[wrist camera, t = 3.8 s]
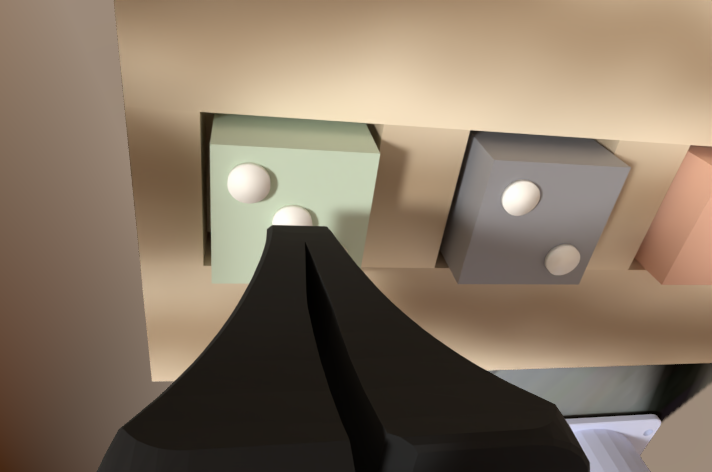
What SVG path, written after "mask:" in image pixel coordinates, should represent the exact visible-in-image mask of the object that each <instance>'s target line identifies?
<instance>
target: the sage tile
mask: <svg viewBox="0 0 712 472" xmlns="http://www.w3.org/2000/svg"><path fill="white" fill-rule="evenodd" d="M379 159H380V152H379V150H378V148H377V146H376V144H375V142H374V139H373V137H372V135H371V133H370V131H369V129H368V127H367V125H366V123H358V122H343V121H328V120H313V119H299V118H284V117H269V116H254V115H240V114H225V113H214V119H213V126H212V133H211V139H210V196H211V270H212V284H249V283H250V281H251V279H252V277H253V275H254V272H255V270H256V268H257V265H258V263H259V261H260V258H261V256H262V253H263V250H264V246H265V243H266V234H267V229H268V228H269V227H270V226H272V225H294V226H327V227H328V228H329V229H330V230H331V231H332V233H333V234H334V235H335V237H336V238H337V240H338V241H339V242H340V243H341V245H342V246H343V247H344V249H345V250H346V251H347V253H348V254H349V255H350V256H351V258H352V259H353V260H354V261H355V263H356V264H357V265H358V266H359V267H360V268H361V264H362V259H363V253H364V247H365V241H366V235H367V229H368V223H369V217H370V212H371V206H372V200H373V194H374V188H375V182H376V176H377V170H378V165H379Z"/></svg>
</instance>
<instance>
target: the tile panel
mask: <svg viewBox="0 0 712 472" xmlns="http://www.w3.org/2000/svg"><path fill="white" fill-rule="evenodd" d="M114 6H115V17H116V27H117V37H118V47H119V57H120V67H121V77H122V87H123V97H124V105H125V106H124V107H125V116H126V127H127V137H128V146H129V156H130V166H131V176H132V186H133V196H134V206H135V216H136V226H137V236H138V246H139V256H140V266H141V275H142V286H143V296H144V306H145V315H146V325H147V335H148V345H149V355H150V365H151V375H152V381H175V380H176V379H177V378H178V377H179V376H180V375H181V374H182V373H183V372H184V371H185V370H186V369H187V368H188V367H189V366H190V365H191V364H192V363H193V362H194V361H195V360H196V359H197V358H198V356H199V355H200V354H201V353H202V352H203V351H204V350H205V348H206V347H207V346H208V345H209V343H210V342H211V341H212V340H213V338H214V337H215V336H216V335H217V333H218V332H219V331H220V329H221V328H222V327H223V325H224V324H225V322H226V321H227V320H228V318H229V317H230V315H231V314H232V312H233V311H234V309H235V307H236V306H237V304H238V303H239V301H240V299H241V297H242V295H243V294H244V292H245V290H246V288H247V286H248V285H249V284H212V270H211V196H210V139H211V133H212V126H213V119H214V113H225V114H240V115H254V116H269V117H284V118H299V119H313V120H328V121H343V122H358V123H366V125H367V127H368V129H369V131H370V133H371V135H372V137H373V139H374V142H375V144H376V146H377V148H378V150H379V152H380V159H379V165H378V170H377V176H376V182H375V188H374V194H373V200H372V206H371V212H370V217H369V223H368V229H367V235H366V241H365V247H364V253H363V259H362V264H361V270H362V271H363V272H364V273H365V274H366V275H367V276H368V278H369V279H370V280H371V281H372V282H373V283H374V284H375V285H376V286H377V288H378V289H379V290H380V291H381V292H382V293H383V294H384V295H385V296H386V297H387V298H388V299H389V300H390V301H391V302H392V303H393V304H394V305H396V306H397V307H398V308H399V309H400V310H401V311H402V312H403V313H405V314H406V315H407V316H408V317H409V318H411V319H412V320H413V321H414V322H416V323H417V324H418V325H419V326H420V327H422V328H423V329H424V330H425V331H427V332H428V333H429V334H431V335H432V336H433V337H435V338H436V339H438V340H439V341H441V342H442V343H444V344H445V345H446V346H448V347H449V348H451V349H452V350H454V351H455V352H457V353H458V354H460V355H461V356H463V357H465V358H466V359H468V360H469V361H471V362H473V363H474V364H476V365H478V366H479V367H481V368H483V369H485V370H512V369H541V368H571V367H601V366H631V365H660V364H690V363H712V285H661V284H660V283H659V282H658V281H657V280H656V279H655V278H654V277H653V276H652V275H651V274H650V273H649V272H648V271H647V270H646V269H645V268H644V267H643V266H642V265H641V264H640V263H639V262H638V261H637V260H636V259H635V258H634V257H635V255H636V253H637V251H638V249H639V247H640V245H641V243H642V241H643V239H644V237H645V235H646V233H647V231H648V229H649V227H650V225H651V223H652V221H653V219H654V217H655V215H656V213H657V211H658V209H659V207H660V205H661V203H662V201H663V199H664V197H665V195H666V193H667V191H668V189H669V187H670V185H671V183H672V181H673V179H674V177H675V175H676V173H677V171H678V169H679V167H680V165H681V163H682V161H683V159H684V157H685V155H686V153H687V151H688V149H689V147H690V145H697V146H711V147H712V0H114ZM470 130H475V131H490V132H505V133H520V134H534V135H549V136H564V137H579V138H592V139H593V140H595V141H596V142H597V143H599V144H600V145H601V146H603V147H604V148H605V149H607V150H608V151H609V152H611V153H612V154H613V155H615V156H616V157H617V158H619V159H620V160H621V161H623V162H624V163H625V164H627V165H628V166H629V167H631V169H630V171H629V173H628V176H627V178H626V180H625V182H624V185H623V187H622V189H621V191H620V194H619V196H618V198H617V200H616V202H615V205H614V207H613V209H612V211H611V214H610V216H609V218H608V220H607V223H606V225H605V227H604V229H603V232H602V234H601V236H600V238H599V241H598V243H597V245H596V247H595V249H594V252H593V254H592V256H591V258H590V261H589V263H588V265H587V267H586V270H585V272H584V274H583V276H582V279H581V281H580V283H579V285H556V284H457V282H456V280H455V278H454V276H453V274H452V272H451V270H450V268H449V266H448V264H447V262H446V261H445V259H444V257H443V255H442V253H441V251H440V249H439V248H440V245H441V241H442V237H443V233H444V229H445V225H446V221H447V218H448V214H449V210H450V206H451V202H452V198H453V195H454V191H455V187H456V183H457V179H458V175H459V172H460V168H461V164H462V160H463V156H464V152H465V149H466V145H467V141H468V137H469V133H470Z"/></svg>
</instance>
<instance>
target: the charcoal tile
mask: <svg viewBox="0 0 712 472" xmlns="http://www.w3.org/2000/svg"><path fill="white" fill-rule="evenodd" d="M630 169H631V167H629V166H628V165H627V164H625V163H624V162H623V161H621V160H620V159H619V158H617V157H616V156H615V155H613V154H612V153H611V152H609V151H608V150H607V149H605V148H604V147H603V146H601V145H600V144H599V143H597V142H596V141H595V140H593V139H592V138H579V137H564V136H549V135H534V134H520V133H505V132H490V131H475V130H470V133H469V137H468V141H467V145H466V149H465V152H464V156H463V160H462V164H461V168H460V172H459V175H458V179H457V183H456V187H455V191H454V195H453V198H452V202H451V206H450V210H449V214H448V218H447V221H446V225H445V229H444V233H443V237H442V241H441V245H440V248H439V249H440V251H441V253H442V255H443V257H444V259H445V261H446V262H447V264H448V266H449V268H450V270H451V272H452V274H453V276H454V278H455V280H456V282H457V284H556V285H579V283H580V281H581V279H582V276H583V274H584V272H585V270H586V267H587V265H588V263H589V261H590V258H591V256H592V254H593V252H594V249H595V247H596V245H597V243H598V241H599V238H600V236H601V234H602V232H603V229H604V227H605V225H606V223H607V220H608V218H609V216H610V214H611V211H612V209H613V207H614V205H615V202H616V200H617V198H618V196H619V194H620V191H621V189H622V187H623V185H624V182H625V180H626V178H627V176H628V173H629V171H630Z"/></svg>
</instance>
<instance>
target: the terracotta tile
mask: <svg viewBox="0 0 712 472" xmlns="http://www.w3.org/2000/svg"><path fill="white" fill-rule="evenodd" d="M634 258H635V259H636V260H637V261H638V262H639V263H640V264H641V265H642V266H643V267H644V268H645V269H646V270H647V271H648V272H649V273H650V274H651V275H652V276H653V277H654V278H655V279H656V280H657V281H658V282H659V283H660V284H661V285H712V147H711V146H697V145H690V147H689V149H688V151H687V153H686V155H685V157H684V159H683V161H682V163H681V165H680V167H679V169H678V171H677V173H676V175H675V177H674V179H673V181H672V183H671V185H670V187H669V189H668V191H667V193H666V195H665V197H664V199H663V201H662V203H661V205H660V207H659V209H658V211H657V213H656V215H655V217H654V219H653V221H652V223H651V225H650V227H649V229H648V231H647V233H646V235H645V237H644V239H643V241H642V243H641V245H640V247H639V249H638V251H637V253H636V255H635V257H634Z"/></svg>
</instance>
